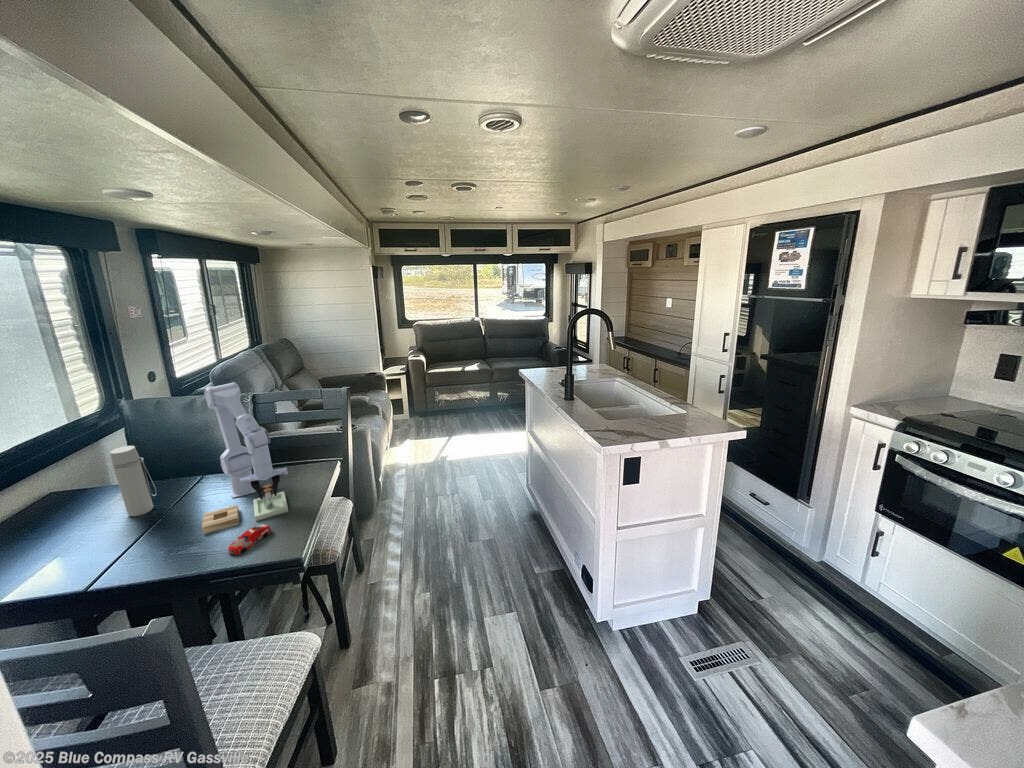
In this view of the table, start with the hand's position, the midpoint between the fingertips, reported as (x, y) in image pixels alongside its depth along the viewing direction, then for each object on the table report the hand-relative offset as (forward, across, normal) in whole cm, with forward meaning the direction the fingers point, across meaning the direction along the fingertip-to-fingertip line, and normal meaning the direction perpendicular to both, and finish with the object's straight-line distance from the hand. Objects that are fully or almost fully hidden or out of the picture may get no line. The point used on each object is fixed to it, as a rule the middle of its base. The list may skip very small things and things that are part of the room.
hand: (268, 496), depth 149 cm
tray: (+5, 0, 0) cm, 5 cm away
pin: (+4, 0, 0) cm, 4 cm away
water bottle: (+5, -39, +25) cm, 47 cm away
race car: (+5, -7, -19) cm, 21 cm away
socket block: (+5, -15, 0) cm, 16 cm away
